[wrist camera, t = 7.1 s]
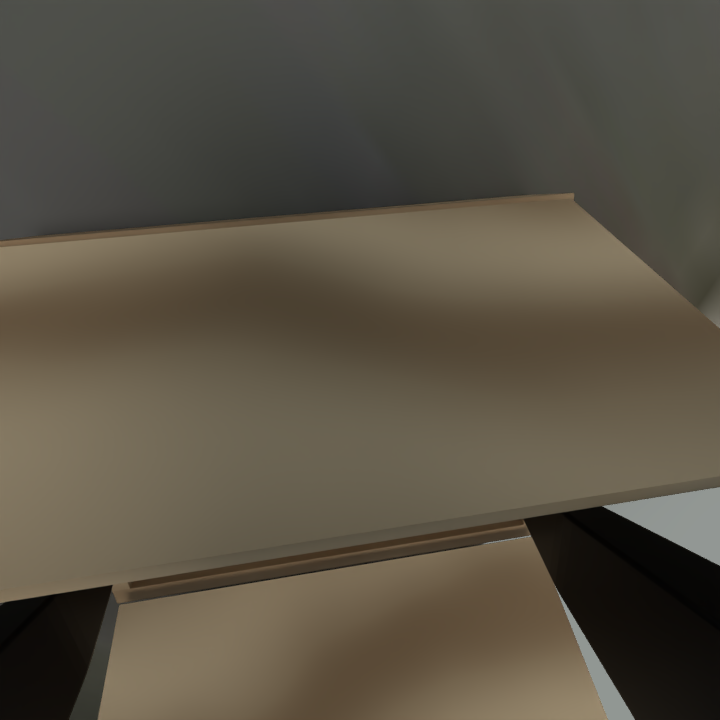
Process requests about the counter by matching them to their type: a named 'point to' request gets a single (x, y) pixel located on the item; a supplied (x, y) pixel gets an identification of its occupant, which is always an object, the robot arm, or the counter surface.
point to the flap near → (334, 388)
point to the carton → (321, 558)
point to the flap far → (359, 646)
